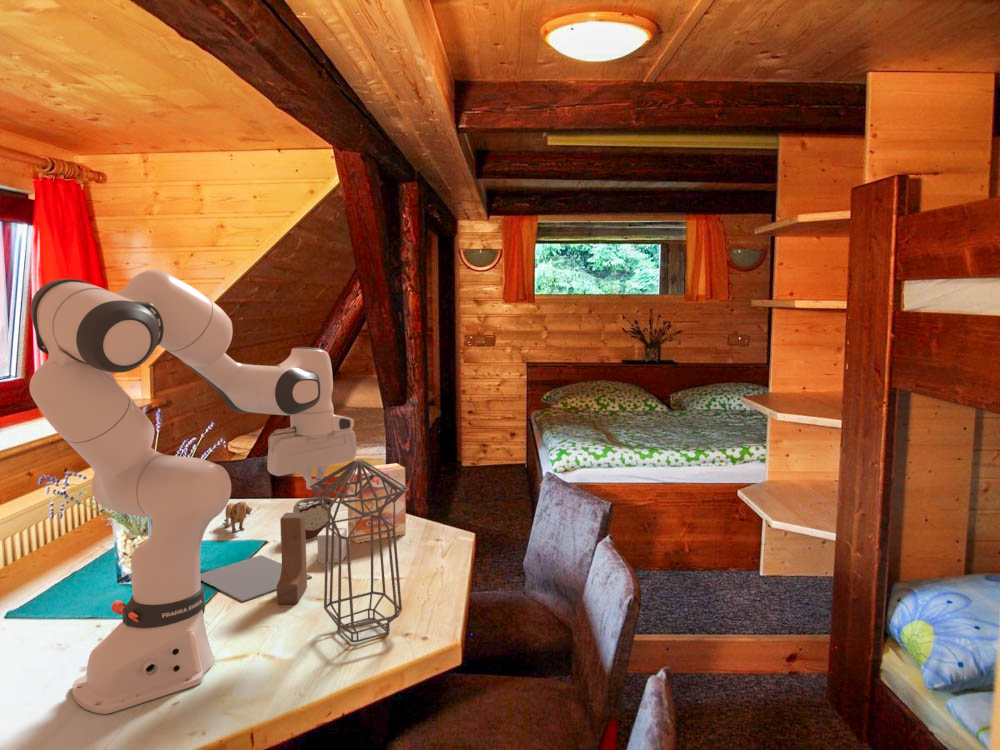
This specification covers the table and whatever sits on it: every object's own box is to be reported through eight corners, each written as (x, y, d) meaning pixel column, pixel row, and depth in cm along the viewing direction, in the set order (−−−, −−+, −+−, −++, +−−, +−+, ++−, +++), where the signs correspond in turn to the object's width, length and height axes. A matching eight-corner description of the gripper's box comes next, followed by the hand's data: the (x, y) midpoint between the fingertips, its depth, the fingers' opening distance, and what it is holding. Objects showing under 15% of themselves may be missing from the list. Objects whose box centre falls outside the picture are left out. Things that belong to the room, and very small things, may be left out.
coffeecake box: (355, 544, 193) (354, 473, 190) (347, 536, 199) (345, 468, 197) (406, 534, 200) (405, 467, 198) (397, 527, 206) (396, 462, 204)
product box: (347, 554, 184) (347, 527, 184) (341, 563, 178) (340, 535, 178) (324, 554, 185) (324, 527, 184) (317, 563, 179) (316, 534, 178)
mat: (242, 602, 155) (242, 600, 155) (193, 577, 169) (193, 575, 169) (311, 577, 169) (311, 576, 169) (261, 556, 183) (261, 555, 183)
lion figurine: (255, 531, 203) (253, 501, 202) (237, 536, 199) (235, 505, 198) (232, 520, 213) (231, 491, 212) (215, 524, 209) (213, 495, 208)
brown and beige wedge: (319, 527, 206) (318, 494, 205) (333, 531, 203) (332, 497, 202) (284, 539, 197) (283, 504, 195) (298, 543, 193) (297, 507, 192)
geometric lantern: (414, 637, 139) (412, 463, 136) (337, 658, 131) (332, 473, 127) (383, 608, 153) (380, 448, 149) (311, 625, 144) (306, 457, 140)
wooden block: (297, 604, 154) (294, 524, 152) (276, 604, 154) (273, 524, 152) (307, 587, 163) (305, 511, 161) (287, 588, 163) (285, 512, 161)
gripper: (277, 433, 138) (279, 501, 140) (360, 419, 154) (361, 481, 156) (259, 429, 142) (262, 496, 144) (342, 416, 158) (343, 476, 160)
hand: (314, 488), depth 150 cm, fingers closed
